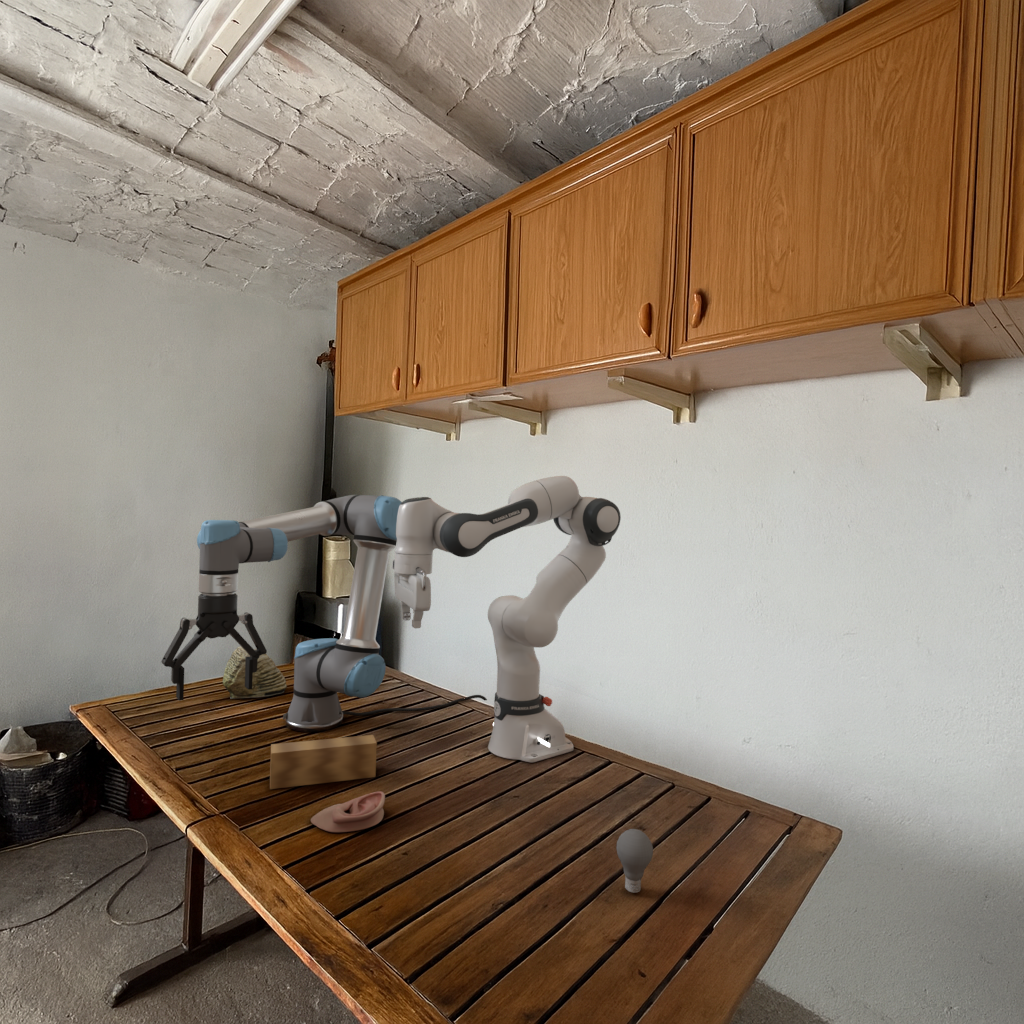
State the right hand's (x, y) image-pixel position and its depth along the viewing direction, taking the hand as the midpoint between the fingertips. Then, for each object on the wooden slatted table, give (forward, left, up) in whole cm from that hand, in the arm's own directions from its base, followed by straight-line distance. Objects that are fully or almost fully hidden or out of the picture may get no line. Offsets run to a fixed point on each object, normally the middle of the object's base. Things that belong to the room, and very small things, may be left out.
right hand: (411, 623), depth 150 cm
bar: (+19, -1, -34) cm, 39 cm away
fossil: (+27, -68, -34) cm, 81 cm away
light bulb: (-20, +61, -34) cm, 72 cm away
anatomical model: (+18, +20, -34) cm, 43 cm away
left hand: (+42, -3, -13) cm, 44 cm away
